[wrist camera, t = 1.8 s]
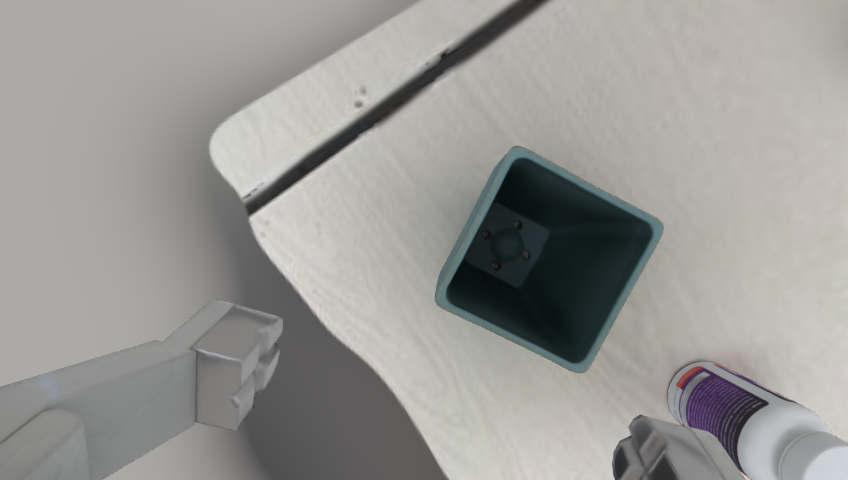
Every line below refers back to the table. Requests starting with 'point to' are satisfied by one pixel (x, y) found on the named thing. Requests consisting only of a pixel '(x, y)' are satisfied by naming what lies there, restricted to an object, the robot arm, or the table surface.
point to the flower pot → (547, 260)
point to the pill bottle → (757, 425)
